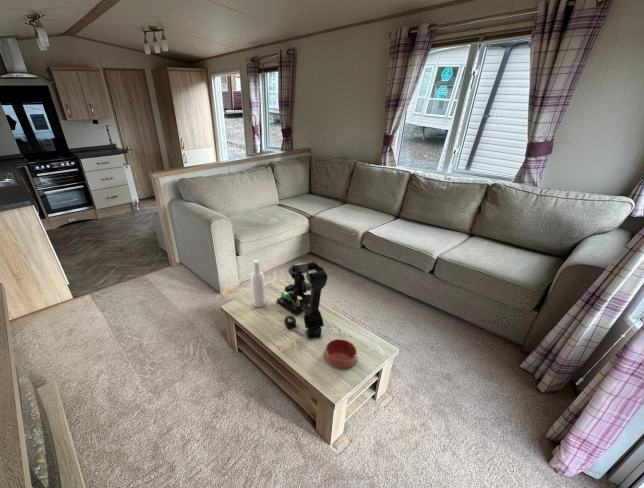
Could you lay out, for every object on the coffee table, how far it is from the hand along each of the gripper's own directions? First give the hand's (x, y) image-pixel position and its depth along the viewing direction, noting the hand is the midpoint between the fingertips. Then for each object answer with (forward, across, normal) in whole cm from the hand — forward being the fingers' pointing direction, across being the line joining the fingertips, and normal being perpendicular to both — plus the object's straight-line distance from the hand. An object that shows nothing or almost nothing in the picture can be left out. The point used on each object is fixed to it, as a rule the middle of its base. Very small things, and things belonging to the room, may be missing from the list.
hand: (298, 305), depth 176 cm
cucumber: (0, +10, 0) cm, 10 cm away
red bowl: (+3, -40, +11) cm, 41 cm away
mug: (+3, -10, +14) cm, 18 cm away
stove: (+3, +6, 0) cm, 6 cm away
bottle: (+3, +21, +14) cm, 25 cm away
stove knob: (0, 0, 0) cm, 0 cm away
